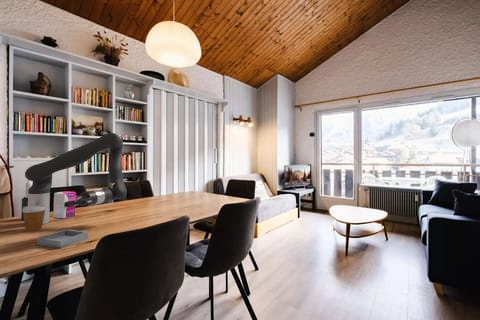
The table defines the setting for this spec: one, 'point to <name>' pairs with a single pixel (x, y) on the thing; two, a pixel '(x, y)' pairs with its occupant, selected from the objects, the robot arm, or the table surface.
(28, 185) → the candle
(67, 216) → the supplement box
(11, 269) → the table surface
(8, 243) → the table surface
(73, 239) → the tray
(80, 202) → the robot arm
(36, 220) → the disposable coffee cup
